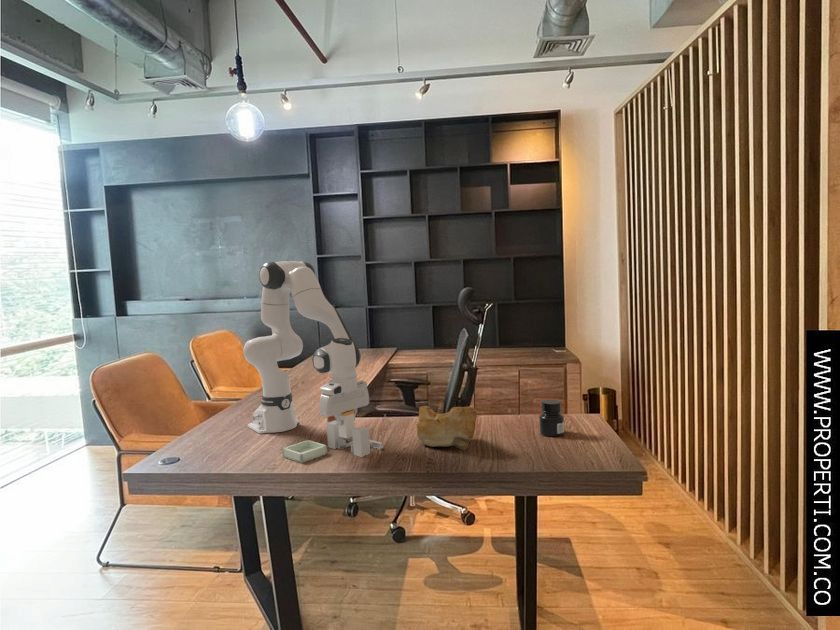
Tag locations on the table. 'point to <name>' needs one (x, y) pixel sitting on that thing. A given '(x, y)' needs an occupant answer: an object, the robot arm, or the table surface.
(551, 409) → the ink bottle
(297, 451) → the tray
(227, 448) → the table surface
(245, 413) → the table surface
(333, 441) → the block
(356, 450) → the block
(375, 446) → the rail
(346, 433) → the block
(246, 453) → the table surface
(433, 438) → the rough brown rock
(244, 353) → the robot arm
